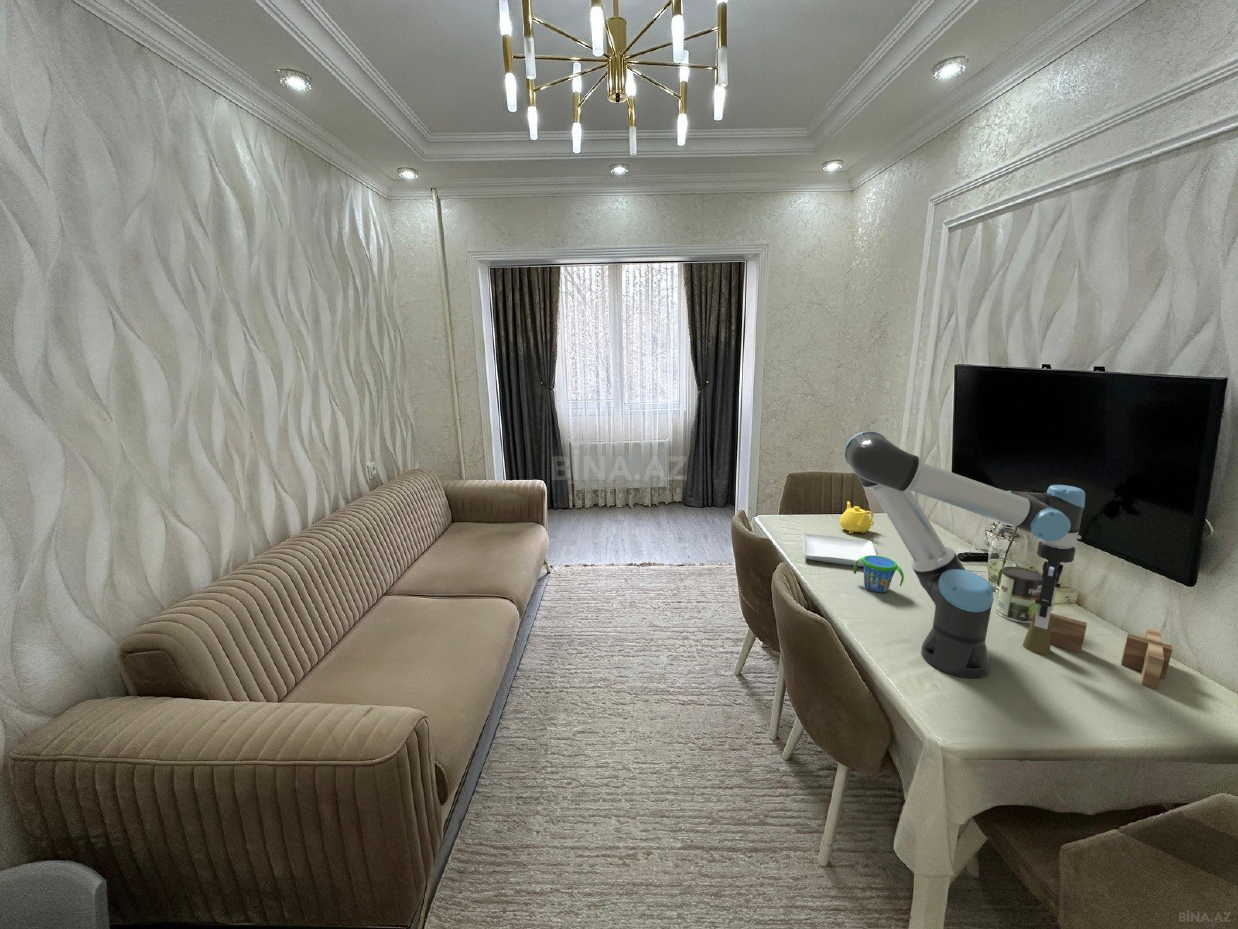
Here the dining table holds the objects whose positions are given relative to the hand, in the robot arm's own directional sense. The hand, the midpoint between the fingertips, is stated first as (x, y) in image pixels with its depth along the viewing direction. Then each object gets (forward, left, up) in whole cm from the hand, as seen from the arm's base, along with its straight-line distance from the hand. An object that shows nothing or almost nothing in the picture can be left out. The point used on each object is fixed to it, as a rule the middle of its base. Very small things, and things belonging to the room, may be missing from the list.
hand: (1043, 617), depth 141 cm
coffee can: (+19, +7, -10) cm, 22 cm away
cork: (0, 0, -10) cm, 10 cm away
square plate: (+30, +66, -10) cm, 73 cm away
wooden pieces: (+7, -13, -9) cm, 17 cm away
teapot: (+64, +71, -10) cm, 96 cm away
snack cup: (+8, +45, -10) cm, 46 cm away
